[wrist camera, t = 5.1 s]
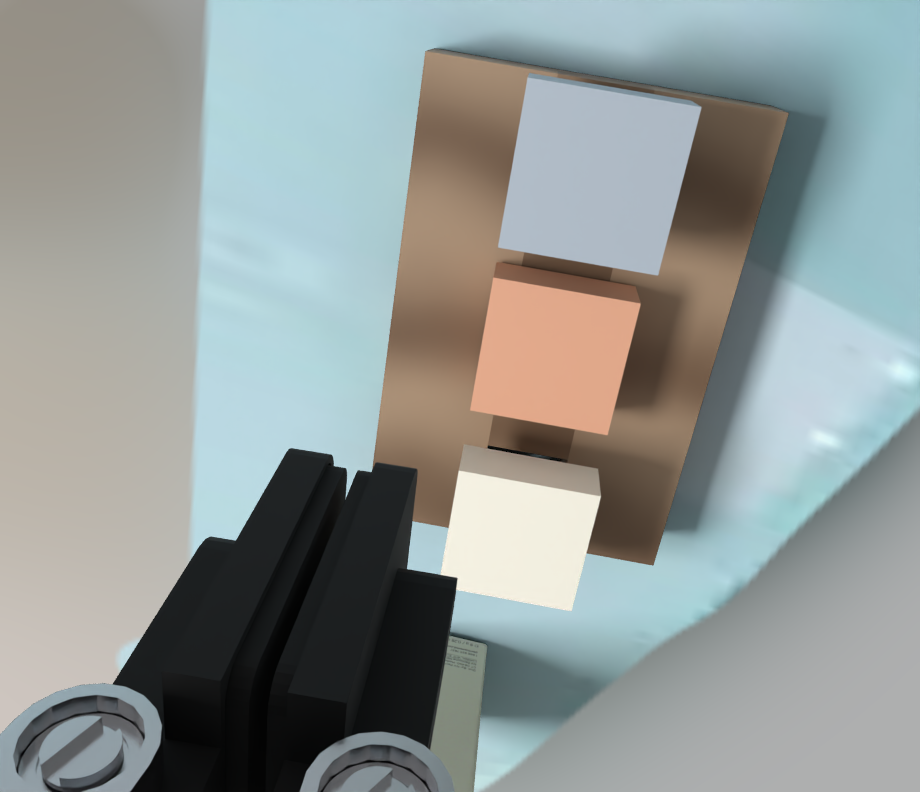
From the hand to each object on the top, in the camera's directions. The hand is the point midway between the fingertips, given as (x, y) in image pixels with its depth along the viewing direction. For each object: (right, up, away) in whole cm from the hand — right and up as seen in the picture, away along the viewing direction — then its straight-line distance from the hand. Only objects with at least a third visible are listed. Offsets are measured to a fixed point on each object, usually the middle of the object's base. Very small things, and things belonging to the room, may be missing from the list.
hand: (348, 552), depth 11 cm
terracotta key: (+5, +5, +23) cm, 24 cm away
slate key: (+6, +10, +18) cm, 22 cm away
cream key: (+4, -1, +24) cm, 24 cm away
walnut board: (+5, +5, +23) cm, 24 cm away
